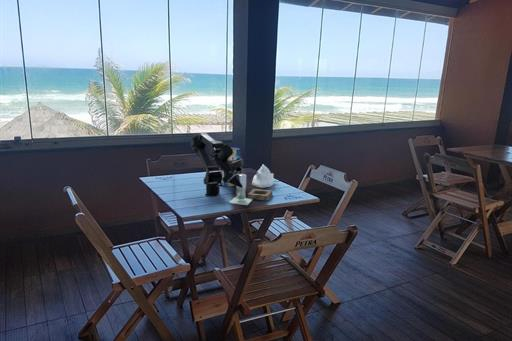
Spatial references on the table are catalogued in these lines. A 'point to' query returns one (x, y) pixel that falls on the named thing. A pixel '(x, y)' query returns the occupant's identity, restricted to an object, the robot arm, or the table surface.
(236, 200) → the sage mat
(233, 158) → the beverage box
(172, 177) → the table surface
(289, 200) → the table surface
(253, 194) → the walnut stand
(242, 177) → the steel tube
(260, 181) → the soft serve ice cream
